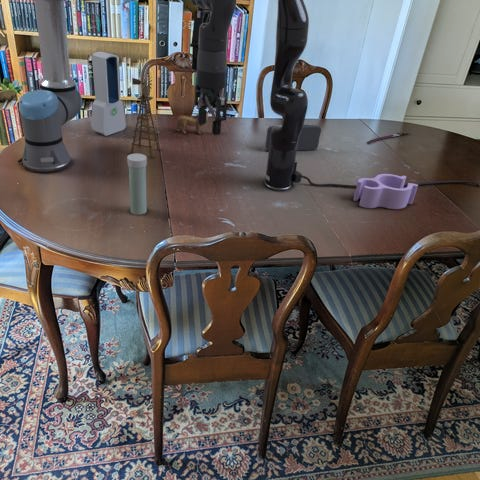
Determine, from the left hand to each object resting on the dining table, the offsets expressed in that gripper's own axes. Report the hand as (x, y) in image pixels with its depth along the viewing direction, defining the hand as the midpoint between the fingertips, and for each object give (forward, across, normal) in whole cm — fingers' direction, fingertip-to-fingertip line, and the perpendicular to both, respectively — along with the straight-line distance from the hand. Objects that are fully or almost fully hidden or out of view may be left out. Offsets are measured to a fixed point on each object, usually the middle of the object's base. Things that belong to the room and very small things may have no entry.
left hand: (200, 65), depth 149 cm
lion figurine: (+36, +35, +9) cm, 51 cm away
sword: (+36, +60, -78) cm, 104 cm away
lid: (+19, -36, +10) cm, 42 cm away
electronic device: (+36, +24, +41) cm, 59 cm away
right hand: (+9, -31, -9) cm, 33 cm away
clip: (+36, -6, -66) cm, 75 cm away
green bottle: (+36, -36, +10) cm, 51 cm away
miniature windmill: (+36, +8, +21) cm, 42 cm away
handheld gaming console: (+36, +30, -34) cm, 57 cm away
